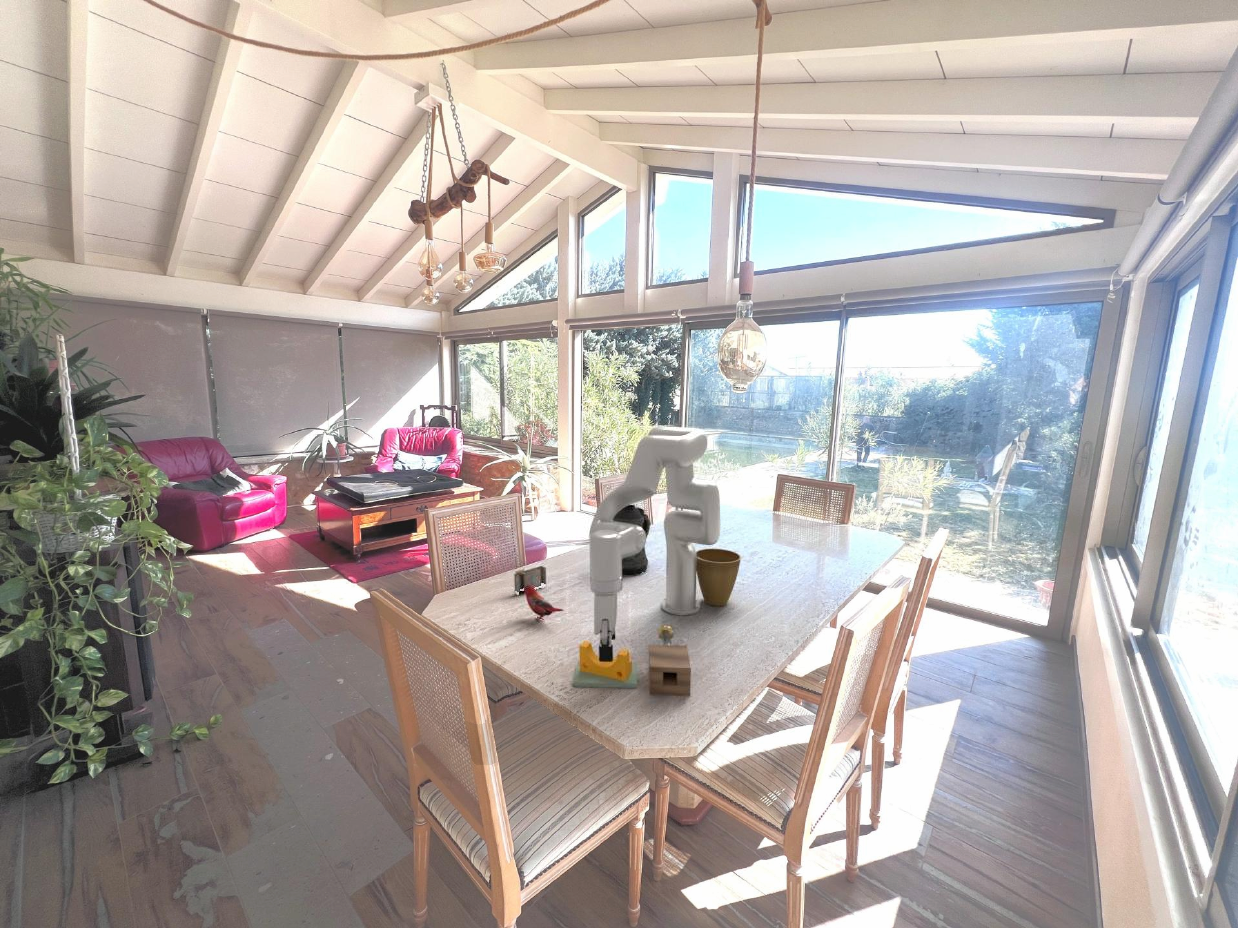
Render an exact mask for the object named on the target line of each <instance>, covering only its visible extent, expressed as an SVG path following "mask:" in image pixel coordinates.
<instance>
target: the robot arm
mask: <svg viewBox="0 0 1238 928" xmlns="http://www.w3.org/2000/svg"><path fill="white" fill-rule="evenodd" d="M707 448H708V436H707V434H706V432H705V431H704V430H703V429H701V428H697V427H678V426H677V427H676V426H657V427H653V428H652V429H650V431H649V432H648V434H647V435H646V436H644V437H642V438H641V439H640V440H639V443H638V445H637V447H636V450H635V452H634V455H633V457H632V460H631V462H630V467H629V469H628V471H627V474H626V477H625V480H624V481H623V483H622V484H620V485H619V486H617V487H616V488H615V489H613V490H612V491H611V492H610V493H609V494H607V495H606V496H605V498H604V499H603V500H602V501H601V502H600V503H599V505H598V507H597V508H596V511H595V514H594V516H593V519H592V521H591V524H590V528H589V534H588V537H589V538H588V539H589V541H588V542H589V543H588V544H589V545H588V547H589V548H588V549H589V577H590V578H589V579H590V580H589V582H590V592H592V593H593V594H594V598H593V599H594V602H593V619H594V620H593V634H594V635H595V636H597V635H599V644H598V657H599V661H600V662H612V661H613V658H614V646H613V644H612V642H613V641H615V640H616V627H617V618H618V617H617V616H618V594H619V593H620V592H621V591H623V576H622V559H623V558H625V557H629V556H633V555H636V554H638V553H639V552H640V551H641V550H642V549H643V548H644V546H646V543H647V538H646V533H645V531H644V530H643V529H642V528H641V527H640V526H637V525H634V524H627V523H622V522H616V521H613V520H612V519H613V518H614V516H615V515H616V514H617V512H619V511H620V510H621V509H622V508H624V507H626V506H628V505H634V504H635V503H639V502H641V501H644V500H647V499H650V498H651V497H653V496H654V495H655V494H656V492H657V489H658V485H659V483H660V480H661V477H662V474H663V472H664V471H663V470H665V472H664V473H665V484H666V486H665V487H666V498H667V503H668V505H670V506H671V507H672V508H675V509H676V510H674V509H673V510H671V511H669V512H668V513H667V514H666V515H665V517H664V520H663V530H664V536H665V537H664V538H665V544H666V545H665V546H666V562H665V563H666V567H665V569H666V572H665V573H666V575H665V576H666V577H665V580H666V581H665V585H666V586H665V598H664V599H662V600H661V602H660V607H661V609H662V610H664V612H666V613H669V614H670V615H671V614H672V615H675V616H677V615H678V616H688V615H695V614H696V613H699V611H700V610H701V607H702V606H701V603H700V602H699V601H698V599H697V572H696V569H697V554H696V551H697V550H696V548H695V546H694V544H697V545H702V546H703V545H704V546H713V545H715V544H716V543H717V542H718V541H719V539H720V535H721V504H720V503H721V501H720V499H721V498H720V490H719V488H718V486H717V484H716V483H715V482H714V481H712V480H708V479H699V478H696V477H695V475H694V474H695V473H694V463H695V462H696V461H698V460H699V459H701V458H702V457H703V456H704V454H705V453H706V452H707ZM680 509H681V510H680Z"/></svg>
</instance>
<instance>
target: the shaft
mask: <svg viewBox="0 0 1238 928" xmlns="http://www.w3.org/2000/svg"><path fill="white" fill-rule="evenodd" d="M657 634H658V637H659V639H660V640H661V645H673V644H672V639H673V637H674V629H673V627H671V626H670V625H668V624H664V625H661V626H660V627H658V633H657Z"/></svg>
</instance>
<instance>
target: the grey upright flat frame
mask: <svg viewBox="0 0 1238 928" xmlns="http://www.w3.org/2000/svg"><path fill="white" fill-rule="evenodd" d="M514 572H515V573H513V575H514V577H513V578H514V579H513V581H514V582H513V583H514V592H515V591H517V592H520V589H523V588H524V589H525V587H526V585H528V584H529V585H531V586H532V587H534V588H535V587H539V586H541V583H544V584H546V585H547V567H546V566H543V565H540V566H536V567H533V568H528V569H526V570H525V568H522V569H519V570H516V571H514ZM524 591H525V590H524Z"/></svg>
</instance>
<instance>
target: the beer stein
mask: <svg viewBox="0 0 1238 928" xmlns="http://www.w3.org/2000/svg"><path fill="white" fill-rule="evenodd" d="M612 521H616V522H622V523H627V524H634V525H637V526H640V527H641V528H642V529H643V530H644V531H645V533H646V539H647V538H648V535H649V532H650V529H651V522H650V518H649V515H647V514H645V509H643V508H641V507H639V506H638V507H636V506H635V504H630V505H628V506H626V507H624V508H622V509H621V510H620V511H619V512H617V514H616V515H615V516H614V518H613V519H612ZM645 546H646V545H645ZM645 546H644V548H643V549H642V550H641V551H640V552H639V553H638V554H636V555H633V556H629V557H625V558H623V559H622V575H633V576H637V575H636V574H639V575H641V573H642V572H644V573H645V572H647V570H648V565H649V560H648V557H647V554H646V548H645ZM646 569H647V570H646ZM642 574H643V573H642Z"/></svg>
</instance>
